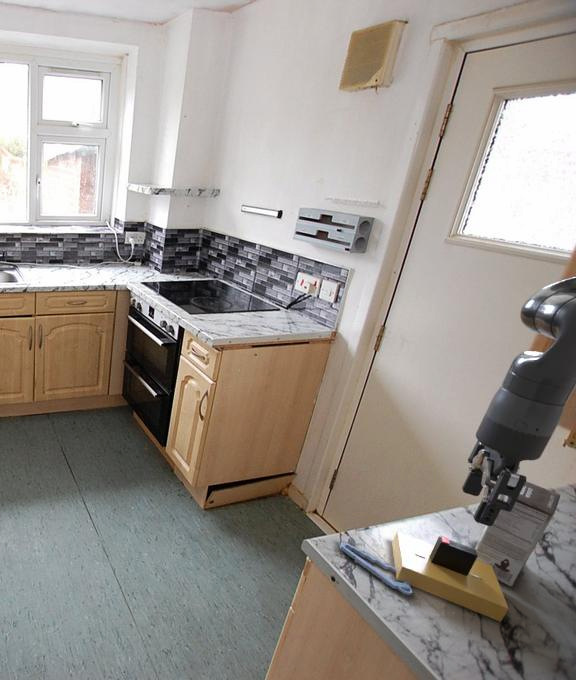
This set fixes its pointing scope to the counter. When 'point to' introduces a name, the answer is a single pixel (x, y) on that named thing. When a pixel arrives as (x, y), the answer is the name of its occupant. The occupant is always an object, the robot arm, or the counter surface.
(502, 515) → the coffee box
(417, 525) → the counter surface
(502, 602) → the tan flat wooden block
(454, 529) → the counter surface
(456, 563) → the lock knob
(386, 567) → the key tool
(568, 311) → the robot arm
